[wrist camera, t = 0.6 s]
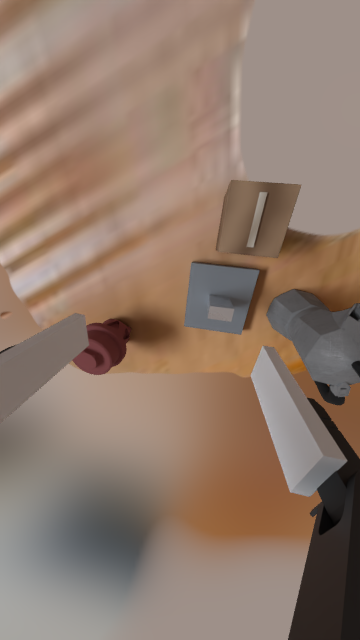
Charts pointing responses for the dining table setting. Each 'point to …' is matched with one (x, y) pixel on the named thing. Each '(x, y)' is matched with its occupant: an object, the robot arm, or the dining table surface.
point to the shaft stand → (219, 297)
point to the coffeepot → (321, 340)
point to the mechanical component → (103, 347)
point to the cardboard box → (256, 217)
